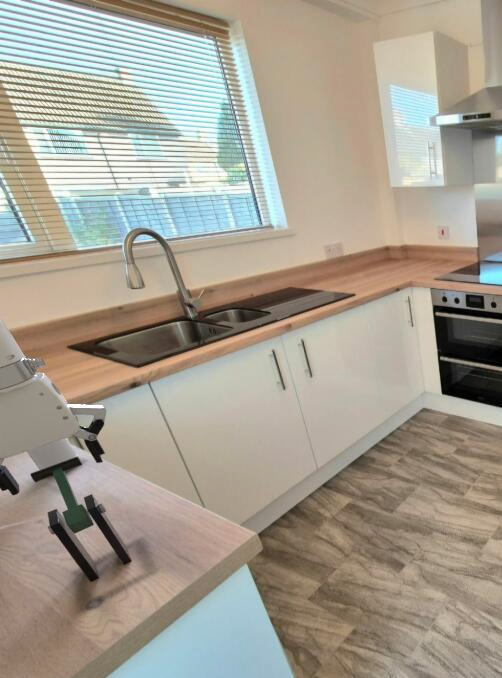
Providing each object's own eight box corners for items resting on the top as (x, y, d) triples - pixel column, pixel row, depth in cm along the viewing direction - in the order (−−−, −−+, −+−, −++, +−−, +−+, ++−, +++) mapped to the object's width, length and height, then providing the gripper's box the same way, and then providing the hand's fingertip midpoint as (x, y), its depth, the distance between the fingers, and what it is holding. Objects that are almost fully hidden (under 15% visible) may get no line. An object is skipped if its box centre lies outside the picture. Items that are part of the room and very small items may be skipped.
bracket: (76, 569, 68) (32, 509, 63) (138, 539, 74) (102, 481, 68) (84, 606, 62) (35, 543, 57) (151, 570, 67) (112, 509, 62)
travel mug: (87, 455, 98) (39, 377, 89) (72, 471, 93) (19, 390, 84) (53, 462, 96) (0, 383, 88) (36, 479, 91) (-22, 397, 82)
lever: (35, 479, 67) (27, 470, 65) (81, 461, 70) (75, 452, 69) (59, 540, 61) (51, 532, 60) (108, 518, 65) (102, 510, 63)
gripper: (74, 351, 68) (124, 441, 75) (-101, 393, 56) (-21, 493, 64) (79, 362, 63) (132, 457, 71) (-110, 410, 52) (-23, 516, 59)
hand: (59, 474), depth 67 cm, fingers open, 9 cm apart
